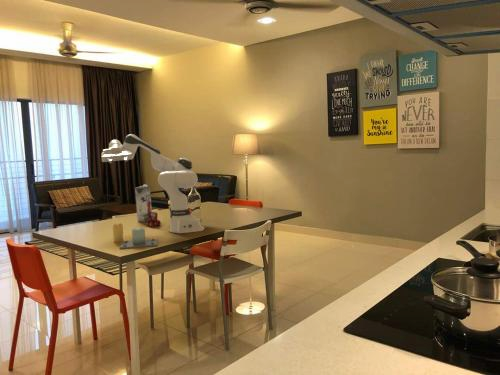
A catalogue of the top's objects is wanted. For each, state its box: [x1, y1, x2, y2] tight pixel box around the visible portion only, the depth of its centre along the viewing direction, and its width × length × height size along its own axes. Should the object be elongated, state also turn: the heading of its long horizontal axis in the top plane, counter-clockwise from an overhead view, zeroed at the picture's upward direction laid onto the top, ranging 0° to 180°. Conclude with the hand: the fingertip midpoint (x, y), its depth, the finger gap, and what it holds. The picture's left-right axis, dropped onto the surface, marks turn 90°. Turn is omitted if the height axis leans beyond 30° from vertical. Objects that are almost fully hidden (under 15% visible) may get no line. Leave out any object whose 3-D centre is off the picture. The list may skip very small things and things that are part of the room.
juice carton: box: [134, 184, 153, 223], centre depth 303 cm, size 9×10×27 cm
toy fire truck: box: [145, 211, 162, 228], centre depth 283 cm, size 7×12×10 cm, turn 39°
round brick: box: [112, 222, 125, 244], centre depth 241 cm, size 6×6×11 cm
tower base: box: [119, 227, 159, 250], centre depth 231 cm, size 20×14×9 cm
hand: (118, 161), depth 264 cm, fingers open, 8 cm apart
